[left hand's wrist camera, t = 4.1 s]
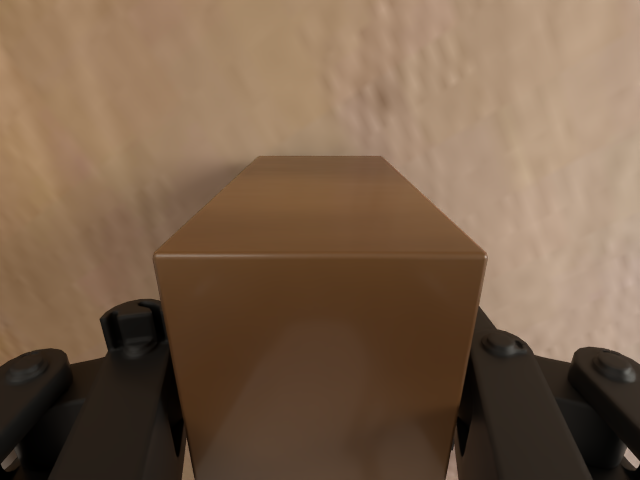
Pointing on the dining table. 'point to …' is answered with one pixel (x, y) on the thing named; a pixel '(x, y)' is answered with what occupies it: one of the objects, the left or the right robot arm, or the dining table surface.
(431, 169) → the dining table surface
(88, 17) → the dining table surface
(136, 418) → the left robot arm
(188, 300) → the bar
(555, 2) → the dining table surface
